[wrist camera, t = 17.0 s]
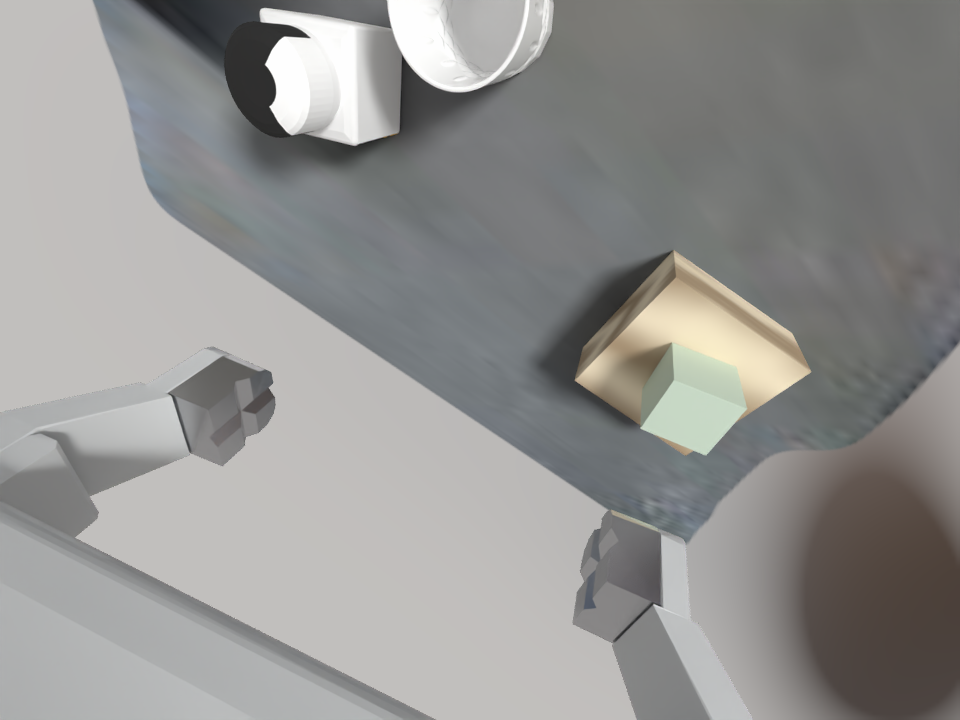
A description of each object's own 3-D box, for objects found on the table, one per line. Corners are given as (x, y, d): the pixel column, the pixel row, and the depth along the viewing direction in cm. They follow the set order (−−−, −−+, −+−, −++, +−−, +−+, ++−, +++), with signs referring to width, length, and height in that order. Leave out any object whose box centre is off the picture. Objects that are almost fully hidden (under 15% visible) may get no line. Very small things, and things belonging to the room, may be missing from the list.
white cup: (555, 87, 32) (522, 96, 24) (454, 82, 34) (393, 89, 26) (570, -61, 27) (536, -110, 20) (453, -57, 29) (379, -99, 22)
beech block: (673, 248, 36) (676, 277, 31) (791, 331, 36) (811, 371, 31) (583, 345, 43) (574, 380, 38) (682, 413, 44) (685, 455, 39)
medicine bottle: (327, 117, 39) (221, 135, 29) (321, 15, 34) (194, -2, 25) (400, 134, 37) (314, 159, 28) (404, 30, 33) (304, 19, 24)
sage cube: (672, 342, 34) (674, 379, 30) (736, 367, 33) (747, 408, 29) (642, 388, 37) (640, 428, 33) (700, 412, 36) (705, 455, 32)
